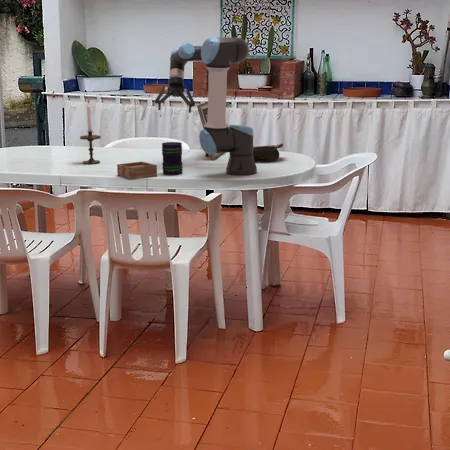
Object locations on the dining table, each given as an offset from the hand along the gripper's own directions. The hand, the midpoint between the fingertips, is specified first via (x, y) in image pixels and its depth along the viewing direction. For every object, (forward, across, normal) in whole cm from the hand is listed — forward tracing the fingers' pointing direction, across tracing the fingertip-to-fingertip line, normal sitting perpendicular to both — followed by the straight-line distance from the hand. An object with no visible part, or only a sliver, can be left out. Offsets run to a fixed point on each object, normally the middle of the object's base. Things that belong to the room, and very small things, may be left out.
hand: (174, 116), depth 378 cm
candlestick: (+15, +42, -35) cm, 56 cm away
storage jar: (+31, -1, +1) cm, 32 cm away
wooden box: (+35, +16, +4) cm, 39 cm away
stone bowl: (+8, -49, -29) cm, 57 cm away
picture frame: (+1, -24, -45) cm, 51 cm away
